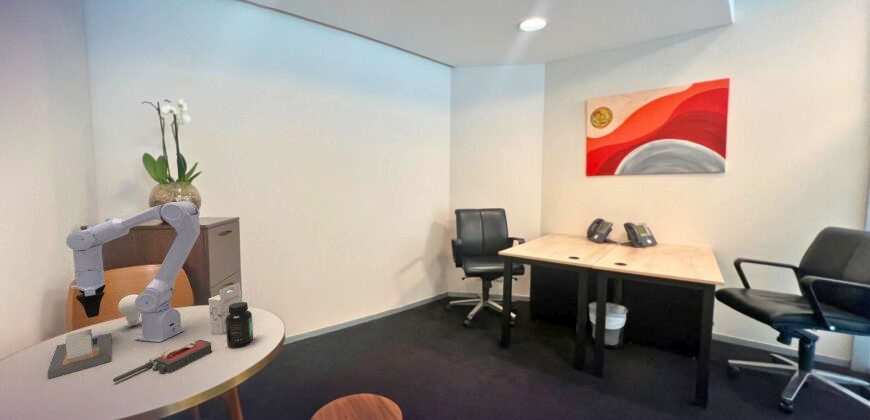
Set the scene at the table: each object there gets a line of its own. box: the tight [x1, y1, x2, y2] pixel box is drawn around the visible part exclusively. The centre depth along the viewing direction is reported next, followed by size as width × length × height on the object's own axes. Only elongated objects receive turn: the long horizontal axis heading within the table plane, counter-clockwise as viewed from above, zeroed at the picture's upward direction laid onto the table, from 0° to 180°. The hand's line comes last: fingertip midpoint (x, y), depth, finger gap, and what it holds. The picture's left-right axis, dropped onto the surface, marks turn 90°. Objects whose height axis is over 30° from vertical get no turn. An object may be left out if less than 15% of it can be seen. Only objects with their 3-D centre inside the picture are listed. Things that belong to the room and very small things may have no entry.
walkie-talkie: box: [112, 339, 212, 383], centre depth 85 cm, size 9×4×20 cm
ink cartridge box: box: [207, 282, 243, 335], centre depth 106 cm, size 9×5×15 cm, turn 168°
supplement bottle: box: [225, 301, 254, 349], centre depth 96 cm, size 7×7×12 cm
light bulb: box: [117, 294, 141, 328], centre depth 108 cm, size 7×7×11 cm
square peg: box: [65, 328, 93, 362], centre depth 86 cm, size 4×4×6 cm
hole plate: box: [47, 332, 113, 380], centre depth 89 cm, size 18×11×2 cm, turn 45°
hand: (93, 312), depth 96 cm, fingers open, 7 cm apart
